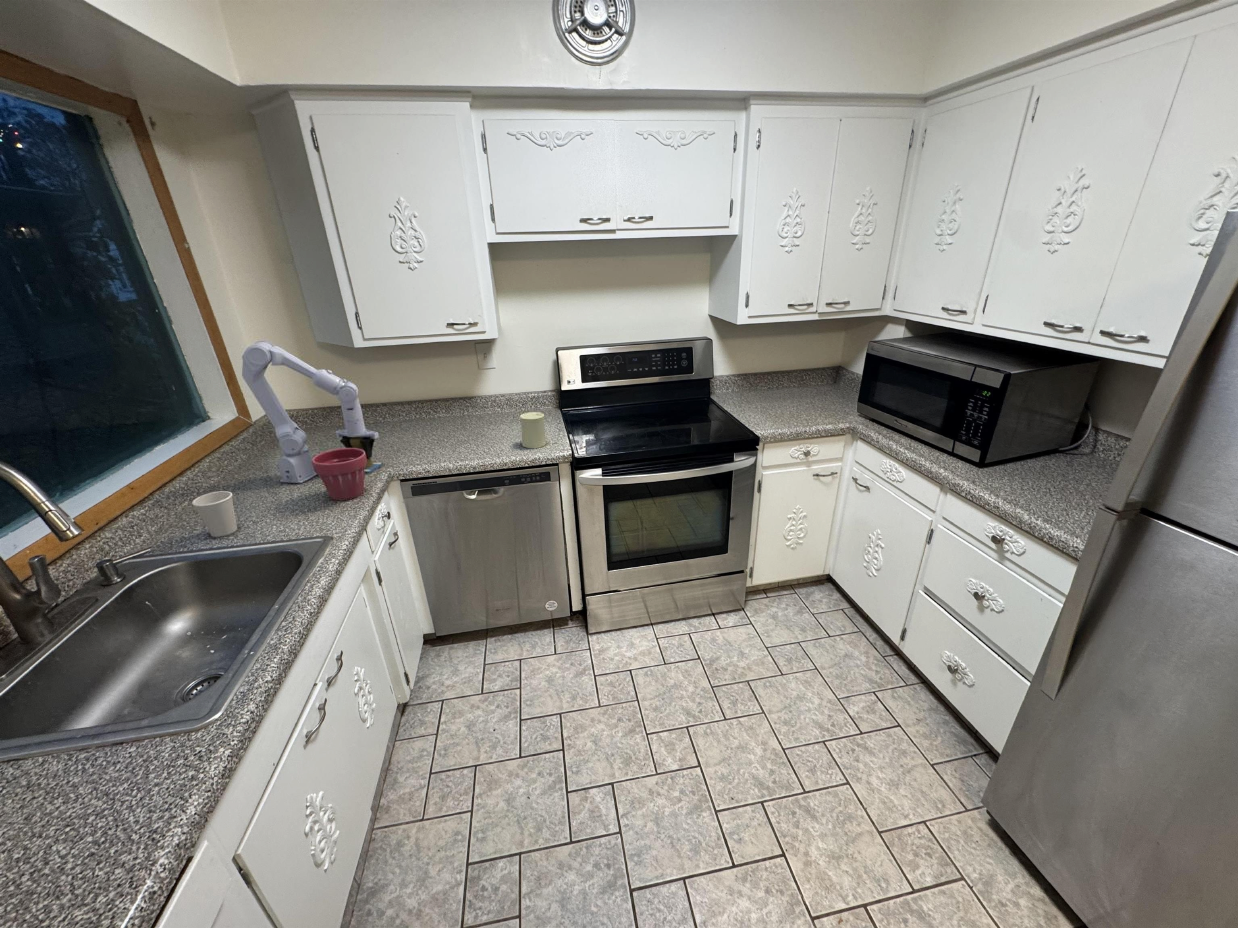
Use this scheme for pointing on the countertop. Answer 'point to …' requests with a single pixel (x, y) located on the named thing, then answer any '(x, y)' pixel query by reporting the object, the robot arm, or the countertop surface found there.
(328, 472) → the flower pot
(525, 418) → the can
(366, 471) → the towel
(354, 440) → the cork
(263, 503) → the countertop surface
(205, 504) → the dixie cup
